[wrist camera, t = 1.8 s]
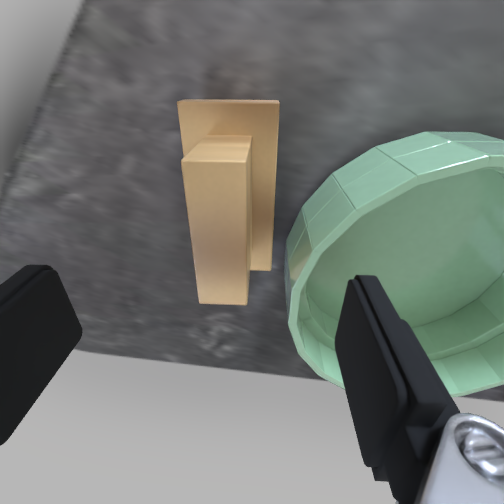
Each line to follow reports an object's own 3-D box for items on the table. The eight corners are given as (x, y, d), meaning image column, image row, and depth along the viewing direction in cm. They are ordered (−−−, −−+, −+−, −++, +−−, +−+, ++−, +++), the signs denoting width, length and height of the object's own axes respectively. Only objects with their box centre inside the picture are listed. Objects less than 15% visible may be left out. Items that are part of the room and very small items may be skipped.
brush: (188, 97, 16) (135, 113, 9) (278, 98, 16) (285, 114, 9) (204, 249, 21) (177, 324, 15) (270, 251, 21) (272, 328, 15)
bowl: (294, 128, 16) (305, 152, 11) (599, 131, 16) (758, 159, 11) (278, 331, 25) (280, 395, 20) (470, 338, 25) (523, 406, 20)
